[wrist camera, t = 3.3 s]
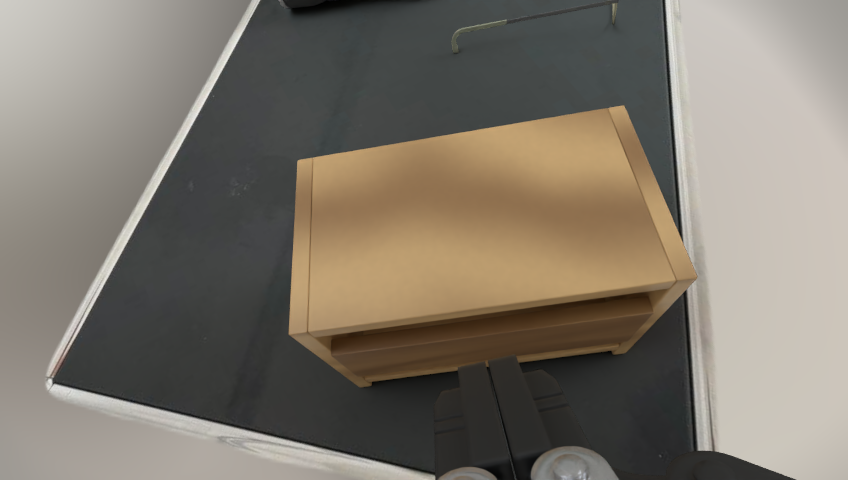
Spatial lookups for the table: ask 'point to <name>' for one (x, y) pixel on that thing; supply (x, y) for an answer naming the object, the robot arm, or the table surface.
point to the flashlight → (300, 3)
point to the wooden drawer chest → (483, 248)
